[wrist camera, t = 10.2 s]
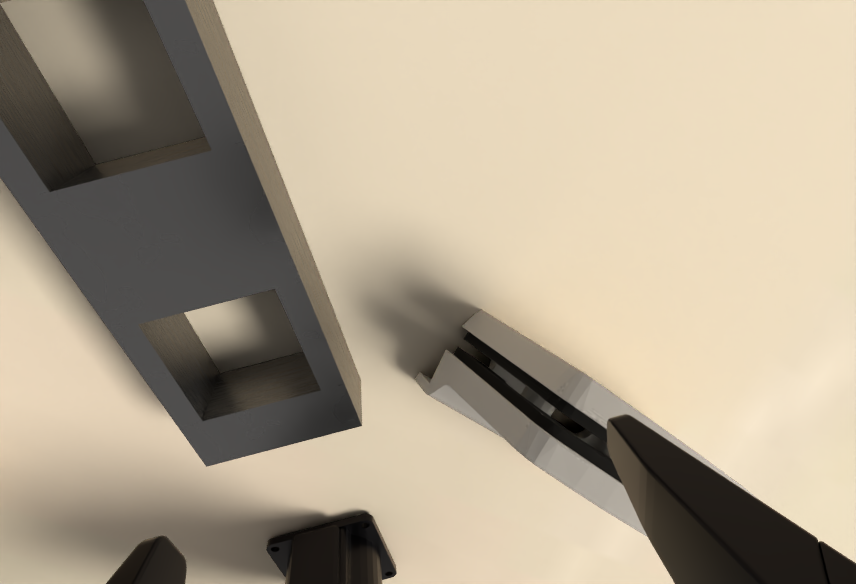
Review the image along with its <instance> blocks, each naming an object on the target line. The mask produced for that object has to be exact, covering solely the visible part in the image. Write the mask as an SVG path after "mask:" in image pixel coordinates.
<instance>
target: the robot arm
mask: <svg viewBox="0 0 856 584" xmlns="http://www.w3.org/2000/svg"><path fill="white" fill-rule="evenodd" d="M607 447H608V451H609V454H610V457H611V459H612V461H613V464H614V466H615V468H616V470H617V472H618V475H619V477H620V479H621V481H622V483H623V486H624V488H625V490H626V492H627V494H628V496H629V499H630V501H631V503H632V505H633V507H634V510H635V512H636V514H637V516H638V518H639V520H640V523H641V525H642V527H643V529H644V531H645V533H646V535H647V536H648V538H649V540H650V542H651V543H652V545H653V547H654V549H655V550H656V552H657V554H658V555H659V557H660V559H661V560H662V562H663V564H664V566H665V567H666V569H667V571H668V572H669V574H670V576H671V577H672V579H673V581H674V583H675V584H856V563H855V562H853V561H852V560H850V559H848V558H847V557H845V556H844V555H842V554H841V553H839V552H838V551H836V550H835V549H833V548H832V547H830V546H829V545H827V544H826V543H824V542H822V541H820V542H818V540H817V538H816V537H815V536H813V535H812V534H810V533H809V532H807V531H806V530H804V529H803V528H801V527H800V526H798V525H796V524H795V523H793V522H792V521H790V520H789V519H787V518H786V517H784V516H783V515H781V514H780V513H778V512H777V511H775V510H774V509H772V508H771V507H769V506H768V505H766V504H765V503H763V502H762V501H760V500H759V499H757V498H755V497H754V496H752V495H751V494H749V493H748V492H746V491H745V490H743V489H742V488H740V487H739V486H737V485H736V484H734V483H733V482H731V481H730V480H728V479H727V478H725V477H724V476H722V475H721V474H719V473H718V472H716V471H715V470H713V469H711V468H710V467H708V466H707V465H705V464H704V463H702V462H701V461H699V460H698V459H696V458H695V457H693V456H692V455H690V454H689V453H687V452H686V451H684V450H683V449H681V448H680V447H678V446H677V445H675V444H674V443H672V442H670V441H669V440H667V439H666V438H664V437H663V436H661V435H660V434H658V433H657V432H655V431H654V430H652V429H651V428H649V427H648V426H646V425H645V424H643V423H642V422H640V421H639V420H637V419H636V418H634V417H633V416H631V415H628V414H623V415H619V416H615V417H611V418H609V419H608V421H607ZM266 550H267V552H268V554H269V555H270V556H271V558H272V559H273V561H274V562H275V563H276V565H277V566H278V568H279V569H280V570H281V572H282V573H283V575H284V576H285V577H286V580H285V584H382V580H384V579H388V578H391V577H394V576H395V575H396V565H395V563H394V561H393V559H392V556H391V554H390V552H389V550H388V548H387V546H386V544H385V541H384V539H383V537H382V535H381V533H380V531H379V529H378V526H377V524H376V522H375V520H374V518H373V516H372V515H370V514H363V515H359V516H355V517H351V518H347V519H344V520H340V521H336V522H332V523H328V524H325V525H321V526H317V527H313V528H309V529H306V530H302V531H298V532H294V533H291V534H287V535H283V536H279V537H275V538H272V539H270V540H269V541H268V543H267V549H266ZM186 568H187V567H186V560H185V558H184V556H183V555H182V553H181V552H180V551H179V550H178V549H177V548H176V547H175V546H174V544H173V543H172V542H171V541H170V540H169V539H168V538H167V537H165V536H158V537H154V538H150V539H147V540H144V541H142V542H141V543H140V544H139V545H138V546H137V547H136V548H135V549H134V550H133V552H132V553H131V554H130V555H129V556H128V558H127V559H126V560H125V561H124V562H123V564H122V565H121V566H120V567H119V568H118V570H117V571H116V572H115V573H114V574H113V576H112V577H111V578H110V579H109V580H108V582H107V583H106V584H185V579H186Z"/></svg>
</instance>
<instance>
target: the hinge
mask: <svg viewBox="0 0 856 584" xmlns="http://www.w3.org/2000/svg"><path fill="white" fill-rule="evenodd" d="M462 327H463V328H465V329H466V330H467V331H469V332H468V333H467V335H466V336H465V338H464V339H465V340H466V341H467V342H469V343H470V344H471V345H473V346H474V347H475V348H477V349H478V350H479V351H481V352H482V353H483V354H484V355H486V356H487V357H488V358H490V366H489V368H488V367H487V366H486V365H485V364H483V363H482V362H480V361H479V360H477V359H476V358H474V357H473V356H471V355H470V354H468V353H467V352H465V351H464V350H462V349H461V348H459V347H458V348H457V349H456V351H455V352H454V354H452V353H451V352H449V351H448V350H445V352H444V355H443V357H442V359H441V361H440V363H439V365H438V367H437V369H436V371H435V373H434V375H433V378H432V379H431V378H429V377H427V376H426V375H424V374H422V373H421V372H419V374H418V375H417V377H416V378H415V381H416V382H417V383H418V384H419V386H420V387H421V388H422V389H423V391H424V392H425V393H426V394H427V395H429V396H431V397H432V398H434V399H436V400H438V401H439V402H441V403H443V404H445V405H446V406H448V407H450V408H452V409H453V410H455V411H457V412H459V413H460V414H462V415H464V416H466V417H468V418H469V419H471V420H473V421H475V422H476V423H478V424H480V425H482V426H483V427H485V428H487V429H489V430H490V431H492V432H494V433H496V434H497V435H499V436H501V437H503V438H504V439H505V440H506V441H507V442H508V443H509V444H510V445H511V446H513V447H514V448H515V449H516V450H517V451H518V452H519V453H521V454H522V455H523V456H524V457H525V458H527V459H528V460H529V461H531V462H532V463H533V464H535V465H536V466H537V467H539V468H540V469H542V470H543V471H545V472H546V473H548V474H549V475H551V476H552V477H554V478H555V479H557V480H558V481H560V482H561V483H563V484H564V485H566V486H567V487H569V488H570V489H572V490H573V491H575V492H576V493H578V494H580V495H581V496H583V497H584V498H586V499H587V500H589V501H590V502H592V503H593V504H595V505H597V506H598V507H600V508H601V509H603V510H604V511H606V512H608V513H609V514H611V515H612V516H614V517H616V518H617V519H619V520H621V521H622V522H624V523H626V524H627V525H629V526H630V527H632V528H634V529H635V530H637V531H639V532H640V533H642V534H644V535H645V536H647V535H646V533H645V531H644V529H643V527H642V525H641V523H640V520H639V518H638V516H637V514H636V512H635V510H634V507H633V505H632V503H631V501H630V499H629V496H628V494H627V492H626V490H625V488H624V486H623V483H622V481H621V479H620V477H619V475H618V472H617V470H616V468H615V466H614V464H613V461H612V459H611V457H610V454H609V451H608V447H607V421H608V419H609V418H611V417H615V416H619V415H623V414H628V415H631V416H633V417H634V418H636V419H637V420H639V421H640V422H642V423H643V424H645V425H646V426H648V427H649V428H651V429H652V430H654V431H655V432H657V433H658V434H660V435H661V436H663V437H664V438H666V439H667V440H669V441H670V442H672V443H674V444H675V445H677V446H678V447H680V448H681V449H683V450H684V451H686V452H687V453H689V454H690V455H692V456H693V457H695V458H696V459H698V460H699V461H701V462H702V463H704V464H705V465H707V466H708V467H710V468H711V469H713V470H715V471H716V472H718V473H719V474H721V475H722V476H724V477H725V478H727V479H728V480H730V481H731V482H733V483H734V484H736V485H737V486H739V487H740V488H742V489H743V490H745V491H746V492H748V493H749V494H751V493H750V492H749V491H748V490H746V489H745V488H744V487H743V486H741V485H740V484H739V483H737V482H736V481H735V480H733V479H732V478H731V477H729V476H728V475H727V474H725V473H724V472H723V471H721V470H720V469H719V468H717V467H716V466H714V465H713V464H712V463H710V462H709V461H708V460H706V459H705V458H704V457H702V456H701V455H700V454H698V453H697V452H695V451H694V450H693V449H691V448H690V447H688V446H687V445H686V444H684V443H683V442H681V441H680V440H679V439H677V438H676V437H674V436H673V435H672V434H670V433H669V432H667V431H666V430H665V429H663V428H662V427H660V426H659V425H658V424H656V423H655V422H653V421H652V420H650V419H649V418H648V417H646V416H645V415H643V414H642V413H641V412H639V411H638V410H636V409H635V408H633V407H632V406H631V405H629V404H628V403H626V402H625V401H623V400H622V399H621V398H619V397H618V396H616V395H615V394H614V393H612V392H611V391H609V390H608V389H606V388H605V387H604V386H602V385H601V384H599V383H598V382H596V381H595V380H594V379H592V378H590V377H589V376H587V375H586V374H584V373H583V372H581V371H580V370H578V369H577V368H575V367H574V366H572V365H570V364H569V363H567V362H566V361H564V360H562V359H561V358H559V357H557V356H556V355H554V354H553V353H551V352H549V351H548V350H546V349H544V348H543V347H541V346H540V345H538V344H536V343H535V342H533V341H532V340H530V339H528V338H527V337H525V336H523V335H522V334H520V333H519V332H517V331H515V330H514V329H512V328H510V327H509V326H507V325H506V324H504V323H502V322H501V321H499V320H497V319H496V318H494V317H493V316H491V315H489V314H488V313H486V312H485V311H483V310H480V311H478V312H477V313H475V314H474V315H473V316H472V317H471V318H470V319H469V320H468V321H467V322H466V323H465V324H464V325H463V326H462ZM555 409H558V410H559V411H561V412H562V413H563V414H565V415H566V416H568V417H569V418H570V419H572V420H573V421H575V422H576V423H578V424H579V425H581V426H582V427H584V428H585V430H583V431H582V432H579V433H572V432H571V431H569V430H567V429H566V428H565V427H564V426H562V425H561V424H560V423H558V422H557V421H556V420H555V419H553V418H552V417H551V415H552V413H553V412H554V410H555ZM751 495H752V496H754V495H753V494H751ZM754 497H755V496H754ZM755 498H756V497H755ZM647 537H648V536H647Z"/></svg>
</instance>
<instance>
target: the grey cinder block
mask: <svg viewBox="0 0 856 584" xmlns="http://www.w3.org/2000/svg"><path fill="white" fill-rule="evenodd" d="M5 1H9V0H0V3H1V2H5ZM143 1H144V3H145V5H146V7H147V10H148V12H149V14H150V16H151V18H152V21H153V23H154V25H155V27H156V29H157V32H158V34H159V36H160V38H161V40H162V43H163V45H164V47H165V49H166V51H167V54H168V56H169V58H170V60H171V62H172V65H173V67H174V69H175V71H176V73H177V75H178V78H179V80H180V82H181V84H182V86H183V89H184V91H185V93H186V95H187V97H188V100H189V102H190V104H191V106H192V108H193V111H194V113H195V115H196V117H197V119H198V122H199V124H200V126H201V128H202V130H203V133H204V135H205V137H202V138H198V139H194V140H191V141H187V142H183V143H179V144H175V145H171V146H167V147H163V148H159V149H156V150H152V151H148V152H144V153H140V154H136V155H132V156H128V157H124V158H120V159H117V160H113V161H109V162H105V163H101V164H97V165H95V163H94V161H93V160H92V158H91V156H90V154H89V153H88V151H87V149H86V148H85V146H84V144H83V143H82V141H81V139H80V138H79V136H78V134H77V133H76V131H75V129H74V128H73V126H72V124H71V123H70V121H69V119H68V117H67V116H66V114H65V112H64V111H63V109H62V107H61V106H60V104H59V102H58V101H57V99H56V97H55V96H54V94H53V92H52V91H51V89H50V87H49V86H48V84H47V82H46V80H45V79H44V77H43V75H42V74H41V72H40V70H39V69H38V67H37V65H36V64H35V62H34V60H33V59H32V57H31V55H30V54H29V52H28V50H27V49H26V47H25V45H24V43H23V42H22V40H21V38H20V37H19V35H18V33H17V32H16V30H15V28H14V27H13V25H12V23H11V22H10V20H9V18H8V17H7V15H6V13H5V12H4V10H3V8H2V6H1V5H0V177H1V179H2V180H3V182H4V183H5V184H6V186H7V187H8V189H9V190H10V191H11V193H12V194H13V196H14V197H15V198H16V200H17V201H18V203H19V204H20V206H21V207H22V208H23V210H24V211H25V213H26V214H27V215H28V217H29V218H30V220H31V221H32V222H33V224H34V225H35V227H36V228H37V229H38V231H39V232H40V234H41V235H42V236H43V238H44V239H45V241H46V242H47V243H48V245H49V246H50V248H51V249H52V250H53V252H54V253H55V255H56V256H57V257H58V259H59V260H60V262H61V263H62V264H63V266H64V267H65V269H66V270H67V271H68V273H69V274H70V276H71V277H72V279H73V280H74V281H75V283H76V284H77V286H78V287H79V288H80V290H81V291H82V293H83V294H84V295H85V297H86V298H87V300H88V301H89V302H90V304H91V305H92V307H93V308H94V309H95V311H96V312H97V314H98V315H99V316H100V318H101V319H102V321H103V322H104V323H105V325H106V326H107V328H108V329H109V330H110V332H111V333H112V335H113V336H114V337H115V339H116V340H117V342H118V343H119V344H120V346H121V347H122V349H123V350H124V352H125V353H126V354H127V356H128V357H129V359H130V360H131V361H132V363H133V364H134V366H135V367H136V368H137V370H138V371H139V373H140V374H141V375H142V377H143V378H144V380H145V381H146V382H147V384H148V385H149V387H150V388H151V389H152V391H153V392H154V394H155V395H156V396H157V398H158V399H159V401H160V402H161V403H162V405H163V406H164V408H165V409H166V410H167V412H168V413H169V415H170V416H171V417H172V419H173V420H174V422H175V423H176V425H177V426H178V427H179V429H180V430H181V432H182V433H183V434H184V436H185V437H186V439H187V440H188V441H189V443H190V444H191V446H192V447H193V448H194V450H195V451H196V453H197V454H198V455H199V457H200V458H201V460H202V461H203V462H204V464H205V465H206V467H207V466H210V465H214V464H218V463H222V462H226V461H230V460H233V459H237V458H241V457H245V456H249V455H252V454H256V453H260V452H264V451H268V450H271V449H275V448H279V447H283V446H287V445H291V444H294V443H298V442H302V441H306V440H310V439H313V438H317V437H321V436H325V435H329V434H332V433H336V432H340V431H344V430H348V429H352V428H355V427H359V426H362V407H361V380H360V377H359V374H358V372H357V369H356V367H355V364H354V362H353V359H352V356H351V354H350V351H349V349H348V346H347V344H346V341H345V338H344V336H343V333H342V331H341V328H340V326H339V323H338V320H337V318H336V315H335V313H334V310H333V308H332V305H331V303H330V300H329V297H328V295H327V292H326V290H325V287H324V285H323V282H322V279H321V277H320V274H319V272H318V269H317V267H316V264H315V261H314V259H313V256H312V254H311V251H310V249H309V246H308V243H307V241H306V238H305V236H304V233H303V231H302V228H301V225H300V223H299V220H298V218H297V215H296V213H295V210H294V207H293V205H292V202H291V200H290V197H289V195H288V192H287V190H286V187H285V184H284V182H283V179H282V177H281V174H280V172H279V169H278V166H277V164H276V161H275V159H274V156H273V154H272V151H271V148H270V146H269V143H268V141H267V138H266V136H265V133H264V130H263V128H262V125H261V123H260V120H259V118H258V115H257V112H256V110H255V107H254V105H253V102H252V100H251V97H250V95H249V92H248V89H247V87H246V84H245V82H244V79H243V77H242V74H241V71H240V69H239V66H238V64H237V61H236V59H235V56H234V53H233V51H232V48H231V46H230V43H229V41H228V38H227V35H226V33H225V30H224V28H223V25H222V23H221V20H220V17H219V15H218V12H217V10H216V7H215V5H214V2H213V0H143ZM273 289H275V290H276V293H277V295H278V297H279V299H280V301H281V304H282V306H283V308H284V310H285V312H286V315H287V317H288V319H289V321H290V323H291V326H292V328H293V330H294V332H295V334H296V337H297V339H298V341H299V343H300V345H301V348H302V350H303V352H302V353H298V354H294V355H290V356H286V357H282V358H279V359H275V360H271V361H267V362H263V363H259V364H256V365H252V366H248V367H244V368H240V369H236V370H233V371H229V372H225V373H221V374H220V373H219V371H218V370H217V368H216V366H215V365H214V363H213V361H212V360H211V358H210V356H209V355H208V353H207V351H206V350H205V348H204V346H203V345H202V343H201V341H200V340H199V338H198V336H197V334H196V333H195V331H194V329H193V328H192V326H191V324H190V323H189V321H188V319H187V318H186V316H185V314H184V312H188V311H192V310H195V309H199V308H203V307H207V306H211V305H215V304H219V303H222V302H226V301H230V300H234V299H238V298H242V297H246V296H249V295H253V294H257V293H261V292H265V291H269V290H273Z"/></svg>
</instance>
